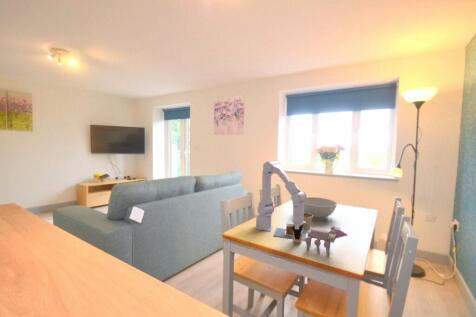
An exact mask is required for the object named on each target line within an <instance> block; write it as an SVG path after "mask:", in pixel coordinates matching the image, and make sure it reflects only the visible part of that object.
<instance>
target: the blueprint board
mask: <svg viewBox="0 0 476 317" xmlns="http://www.w3.org/2000/svg"><path fill="white" fill-rule="evenodd" d="M273 237H275V238H276V237H277V238H284V239H290V240H293V235H288V234H286V228H281V227H277V228H276V230H275V231H274V234H273ZM305 238H307V231H304V230H302V241H304V242H305Z"/></svg>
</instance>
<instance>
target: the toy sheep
mask: <svg viewBox="0 0 476 317" xmlns="http://www.w3.org/2000/svg"><path fill="white" fill-rule="evenodd" d="M309 230H310V231H309V233H308V234H307V236H306V238H305V241H304V243H306V244H305V246H306V247H305V248H306V251H307V252H310V247H311V245H312V239H314V242H313V243H314V245H315V246H316V254H317V255H320V247H321V246H320V245H321V242H322V241H323V242H324V243H323V246H324V248H325V254H326V257H330V250H331V243H332V244H333V243H335V240H336V239H339V238H343V237H347V236H348V234H347V233H346V232H344V231H343V230H341V227H337V226H334V225H333V226H331V227H330V230H329V231H328V230H325V229H319V228H313V227H310V229H309Z"/></svg>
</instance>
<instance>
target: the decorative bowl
mask: <svg viewBox="0 0 476 317" xmlns="http://www.w3.org/2000/svg"><path fill="white" fill-rule="evenodd" d="M337 205H338V204H337V202H336V201H335V200H332V199H329V198H325V197H315V196H306V200H305V201H304V213H310V214H312V215H313V217H312V220H314V221H324V220H326V218H328V217H330V216H331V215H333V213H334V212H335V210H336V208H337Z"/></svg>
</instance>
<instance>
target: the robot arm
mask: <svg viewBox="0 0 476 317" xmlns="http://www.w3.org/2000/svg"><path fill="white" fill-rule="evenodd" d="M274 174H276V175H277V176H278V177H279V178H280V179H281V181H282V182H283V183H284V187H285V189H286V191H287V192H288V193H289V195H290V196H291V197H290V199H291V202H292V206H293V207H292V221H291V222H292V224H294V226H292V229H293V231H294V236H295V239H298V240H299V238H300V234H301V231H303V230H304V229H303V228H302V226H303V224H305V223H306V222H305V221H303V218H304V201H305V200H306V197H307V194H306V192H305V191H303V190H301V189H300V188H299V187H298V185H297V183H296V182H295V181H293V180H292V179H290V178H289V176H288V175H287V173H286V171H285V170H284V168H283V164H282V162H280V160H275V161H265V162H264V163H263V164H262V174H261V176H262V178H261V184H262V185H261V200H260V201H259V202H258V206H257V214H256V218H255V222H256V224H255V230H259V231H266V232H267V231H268V232H271V231H272V229H273V225H272V215H273V213H274V212H275V207H274V202H273V200H272V199H271V196H272V190H271V189H272V175H274Z"/></svg>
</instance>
